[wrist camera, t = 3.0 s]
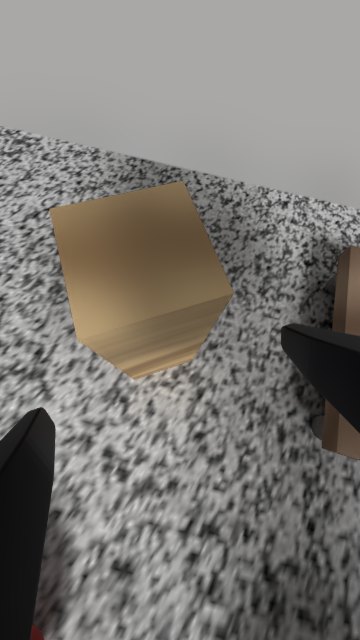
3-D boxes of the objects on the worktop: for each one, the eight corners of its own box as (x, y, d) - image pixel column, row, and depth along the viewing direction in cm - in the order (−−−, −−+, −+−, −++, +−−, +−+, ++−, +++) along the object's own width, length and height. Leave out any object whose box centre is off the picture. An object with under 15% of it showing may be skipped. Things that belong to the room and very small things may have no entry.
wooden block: (192, 360, 20) (234, 292, 8) (134, 379, 19) (77, 339, 7) (173, 307, 21) (183, 180, 9) (119, 323, 21) (49, 208, 8)
